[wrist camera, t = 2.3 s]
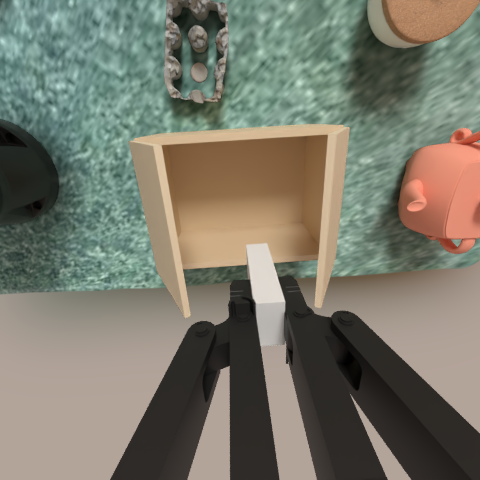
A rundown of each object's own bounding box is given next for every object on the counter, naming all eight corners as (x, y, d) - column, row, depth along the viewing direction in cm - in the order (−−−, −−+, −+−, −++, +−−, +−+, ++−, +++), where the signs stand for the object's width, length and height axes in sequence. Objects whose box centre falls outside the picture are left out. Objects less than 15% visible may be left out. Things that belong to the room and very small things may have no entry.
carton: (177, 234, 45) (161, 270, 34) (160, 133, 38) (133, 138, 27) (305, 225, 45) (330, 258, 34) (310, 124, 38) (344, 125, 27)
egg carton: (222, 107, 37) (221, 105, 34) (168, 98, 36) (161, 95, 33) (232, 12, 33) (232, -1, 29) (171, 0, 32) (164, -15, 28)
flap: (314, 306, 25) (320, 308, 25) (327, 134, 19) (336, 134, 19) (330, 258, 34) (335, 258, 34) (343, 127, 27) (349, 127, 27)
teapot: (361, 185, 43) (410, 209, 31) (455, 105, 38) (554, 99, 27) (406, 243, 47) (463, 282, 36) (495, 178, 43) (592, 199, 32)
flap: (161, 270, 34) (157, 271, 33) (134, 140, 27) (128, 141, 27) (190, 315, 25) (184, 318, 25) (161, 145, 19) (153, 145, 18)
